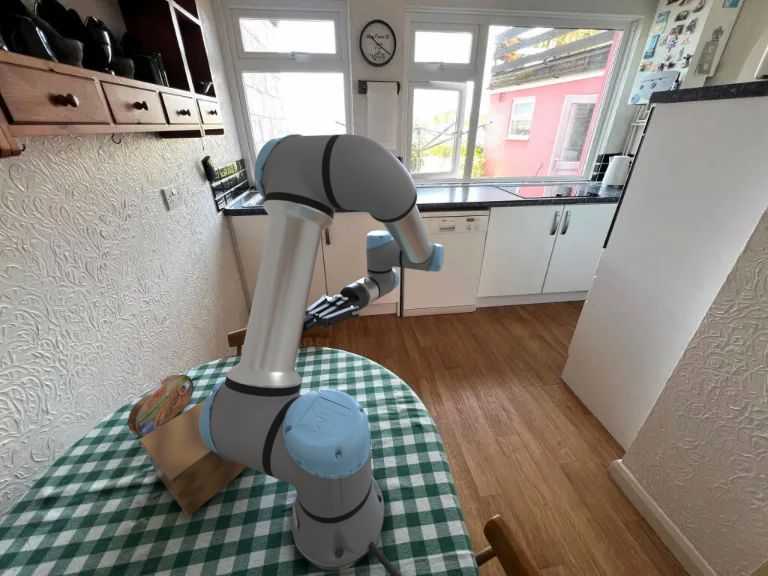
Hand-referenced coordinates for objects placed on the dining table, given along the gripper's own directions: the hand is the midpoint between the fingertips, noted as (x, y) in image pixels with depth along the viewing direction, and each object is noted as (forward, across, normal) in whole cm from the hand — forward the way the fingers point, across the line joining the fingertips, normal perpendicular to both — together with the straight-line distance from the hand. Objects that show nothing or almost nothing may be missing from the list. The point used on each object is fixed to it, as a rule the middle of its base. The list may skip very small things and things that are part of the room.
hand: (290, 332), depth 70 cm
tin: (+22, -20, +19) cm, 35 cm away
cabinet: (+22, 0, +19) cm, 29 cm away
